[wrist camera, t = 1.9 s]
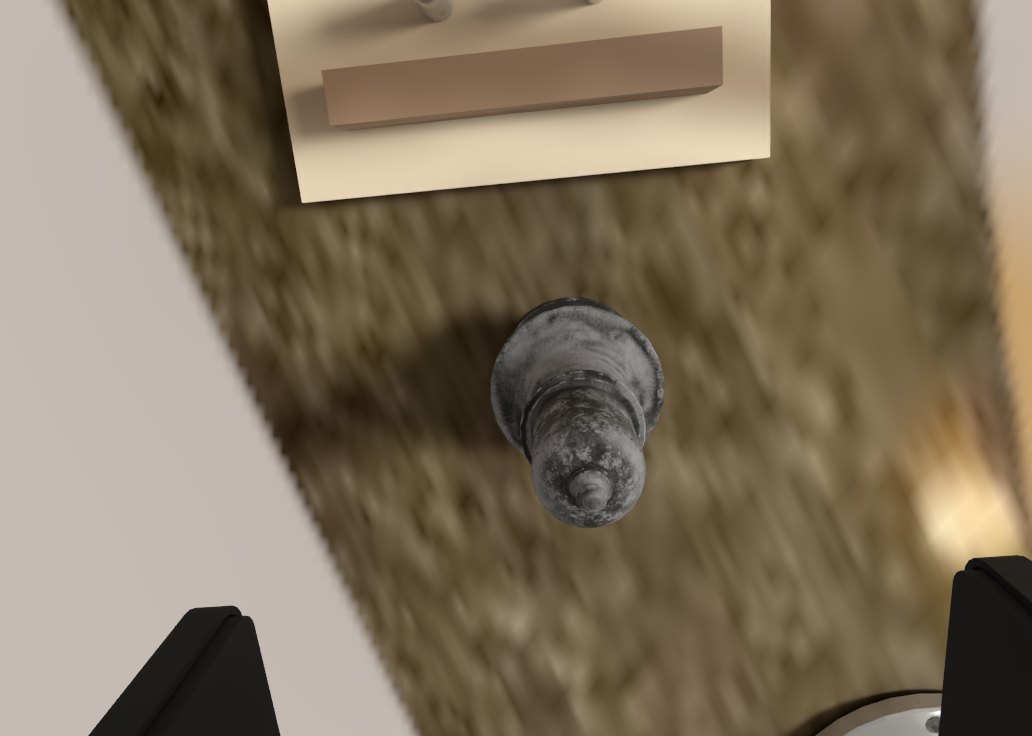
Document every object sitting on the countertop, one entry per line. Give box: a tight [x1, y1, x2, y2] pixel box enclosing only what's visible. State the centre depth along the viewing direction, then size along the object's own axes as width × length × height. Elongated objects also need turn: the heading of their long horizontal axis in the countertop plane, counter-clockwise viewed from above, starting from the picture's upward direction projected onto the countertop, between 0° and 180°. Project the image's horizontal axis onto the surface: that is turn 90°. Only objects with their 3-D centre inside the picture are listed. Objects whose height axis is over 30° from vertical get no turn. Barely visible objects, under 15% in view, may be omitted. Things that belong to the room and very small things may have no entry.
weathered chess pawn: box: [490, 298, 664, 528], centre depth 20 cm, size 6×6×12 cm
